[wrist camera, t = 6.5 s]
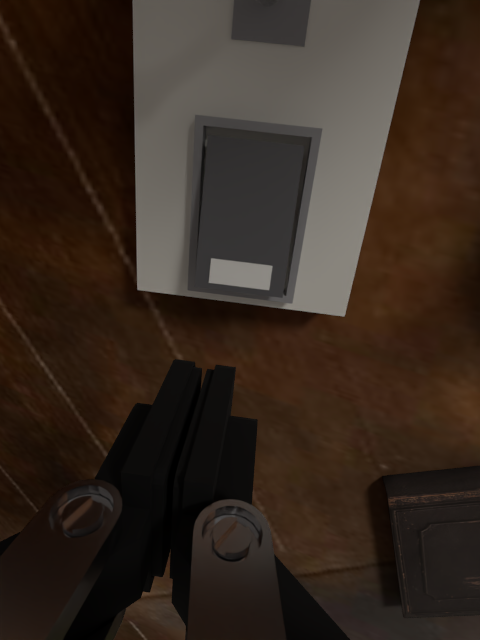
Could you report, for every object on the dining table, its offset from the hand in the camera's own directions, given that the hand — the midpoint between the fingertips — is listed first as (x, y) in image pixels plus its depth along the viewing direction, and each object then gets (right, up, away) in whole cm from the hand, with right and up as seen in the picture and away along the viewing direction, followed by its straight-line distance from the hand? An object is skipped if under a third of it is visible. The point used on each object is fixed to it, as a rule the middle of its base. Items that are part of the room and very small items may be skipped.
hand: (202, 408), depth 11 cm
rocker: (+1, +7, +8) cm, 11 cm away
